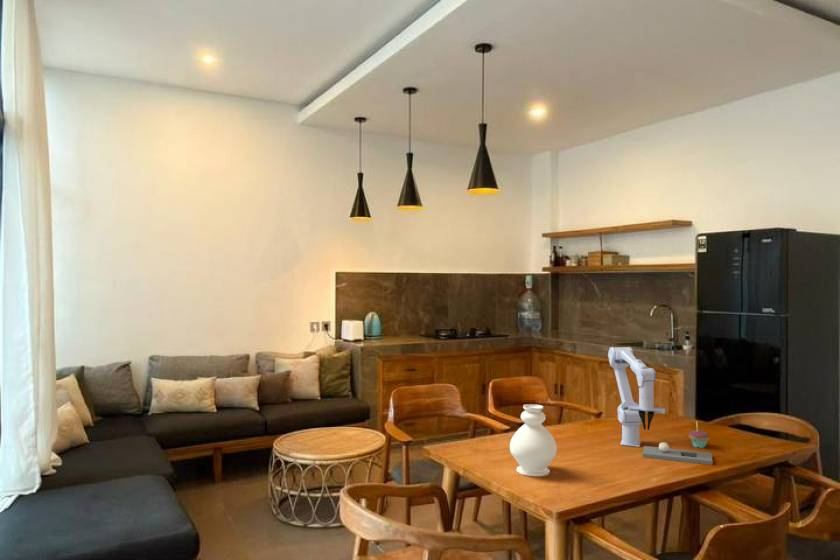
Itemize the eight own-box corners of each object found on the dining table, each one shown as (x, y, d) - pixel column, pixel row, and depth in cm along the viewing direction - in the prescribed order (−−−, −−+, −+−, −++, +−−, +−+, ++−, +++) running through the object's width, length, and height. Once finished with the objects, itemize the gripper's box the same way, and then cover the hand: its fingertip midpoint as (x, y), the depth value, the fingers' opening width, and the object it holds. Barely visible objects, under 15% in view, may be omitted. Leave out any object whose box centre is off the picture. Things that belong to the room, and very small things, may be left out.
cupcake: (703, 450, 253) (703, 422, 253) (684, 445, 260) (684, 418, 260) (713, 446, 259) (713, 419, 258) (694, 442, 265) (694, 416, 265)
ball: (658, 450, 249) (658, 440, 249) (669, 451, 247) (669, 441, 247) (658, 452, 245) (658, 443, 245) (669, 453, 244) (669, 444, 244)
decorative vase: (565, 471, 226) (565, 406, 226) (539, 482, 214) (539, 413, 214) (527, 460, 239) (527, 399, 239) (500, 470, 227) (500, 406, 227)
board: (644, 449, 255) (644, 445, 255) (710, 456, 245) (710, 452, 245) (642, 457, 244) (642, 453, 244) (712, 464, 234) (712, 461, 234)
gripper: (627, 397, 248) (627, 429, 248) (664, 399, 242) (665, 432, 242) (628, 394, 254) (628, 426, 254) (664, 397, 249) (665, 429, 248)
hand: (646, 429), depth 248 cm, fingers closed
